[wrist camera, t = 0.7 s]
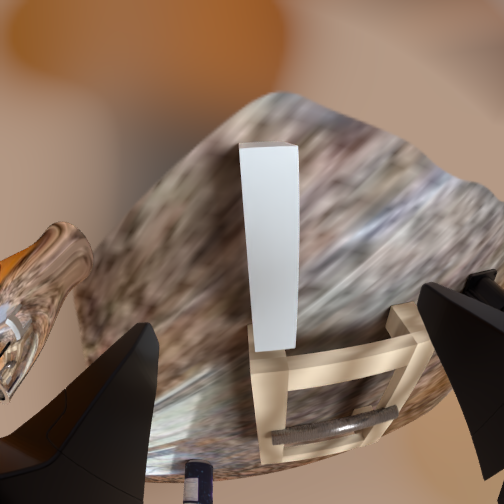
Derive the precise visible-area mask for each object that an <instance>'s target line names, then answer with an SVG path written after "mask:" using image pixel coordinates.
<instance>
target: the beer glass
mask: <svg viewBox="0 0 504 504" xmlns="http://www.w3.org/2000/svg"><path fill="white" fill-rule="evenodd" d="M92 268H93V253H92V249H91V246H90V244H89V242H88V240H87V239H86V237H85V235H84V234H83V233H82V232H81V231H80V230H79V229H78V228H77V227H75V226H74V225H72V224H70V223H67V222H56V223H54V224H52V225H50V226H49V227H48V228H47V230H46V231H45V232H44V233H43V234H42V236H41V237H40V238H39V239H38V240H37V241H36V242H35V243H34V244H32V245H31V246H29V247H28V248H26V249H24V250H22V251H20V252H18V253H16V254H14V255H12V256H10V257H8V258H6V259H4V260H2V261H0V403H2V404H9V402H10V400H11V398H12V396H13V395H14V393H15V392H16V390H17V389H18V387H19V386H20V384H21V383H22V381H23V380H24V378H25V377H26V375H27V374H28V372H29V370H30V369H31V367H32V366H33V364H34V363H35V361H36V359H37V358H38V356H39V354H40V352H41V351H42V349H43V347H44V345H45V343H46V341H47V338H48V336H49V334H50V332H51V329H52V327H53V325H54V322H55V320H56V318H57V315H58V313H59V311H60V308H61V306H62V304H63V302H64V300H65V298H66V296H67V295H68V293H69V292H70V291H71V290H72V289H73V288H74V287H75V286H76V285H78V284H79V283H80V282H82V281H83V280H85V279H86V278H87V277H88V276H89V274H90V273H91V271H92Z"/></svg>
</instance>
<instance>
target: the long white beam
mask: <svg viewBox="0 0 504 504" xmlns="http://www.w3.org/2000/svg"><path fill="white" fill-rule="evenodd" d="M239 156H240V169H241V181H242V195H243V208H244V221H245V234H246V246H247V259H248V272H249V284H250V298H251V310H252V322H253V334H254V345H255V352H262V351H273V350H282V349H291V348H295V345H296V328H297V306H298V278H299V159H298V146H297V145H294V144H290V143H287V142H283V141H265V142H248V143H239Z"/></svg>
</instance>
